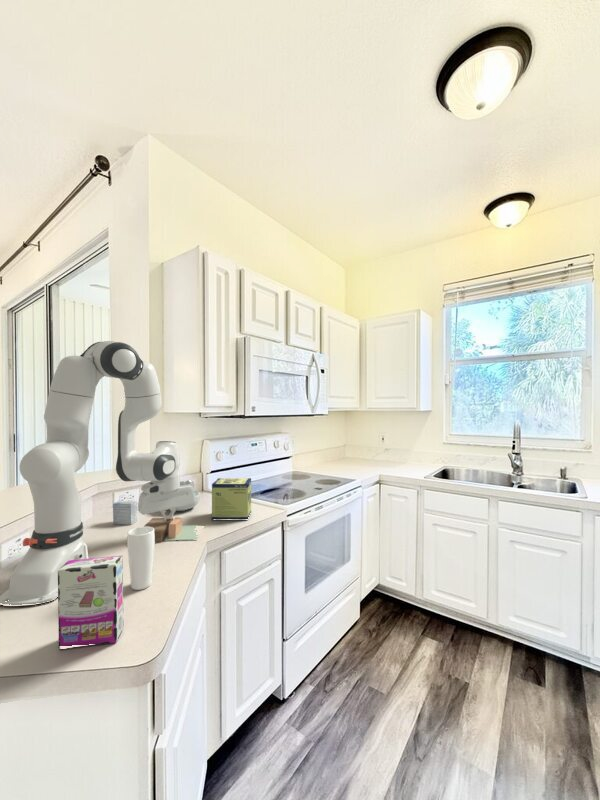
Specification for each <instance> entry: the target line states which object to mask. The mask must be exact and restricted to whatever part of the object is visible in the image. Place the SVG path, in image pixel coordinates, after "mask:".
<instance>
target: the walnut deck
mask: <svg viewBox="0 0 600 800" xmlns="http://www.w3.org/2000/svg"><path fill="white" fill-rule="evenodd" d="M173 520H174V519H173ZM173 520H171V521H166V522H164V521H163V517H153V518H151V519H150V520H149V521H148V522H147V523H146V524H144V525H143V527H145V526H148V527H153V528H154V532H155V543H162V542H163V541H164V540H165V538H166V537H167V536H168V535H169V524H170V523H171V522H172V521H173Z"/></svg>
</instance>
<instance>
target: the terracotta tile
mask: <svg viewBox="0 0 600 800" xmlns="http://www.w3.org/2000/svg"><path fill="white" fill-rule="evenodd" d="M182 526H183V517H174V518H173V521H172V522H171V523H170V524H169V533H168V535H169V537H168V538H176V537H177V536H178V535H179V533H180V532H181V531H182Z"/></svg>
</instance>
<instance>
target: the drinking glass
mask: <svg viewBox="0 0 600 800" xmlns="http://www.w3.org/2000/svg"><path fill="white" fill-rule="evenodd" d="M144 526H145V525H144ZM144 526H139V527H134V528H132V529H130V530H129V531H128V532H127V540H126V541H127V542H126V543H127V544H126V545H127V546H126V547H127V555H128V556H127V558H128V565H129V566H128V567H129V568H128V569H129V578H130V588H131V589H132V590H135V591H141V590H144V589H147V588H149V587H150V586H151V585H152V584H153V583H152V582H153V571H154V570H153V568H154V559H155V558H154V557H155V556H154V555H155V532H154V528H153V527H148V526H145V527H144Z"/></svg>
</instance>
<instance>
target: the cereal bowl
mask: <svg viewBox="0 0 600 800" xmlns="http://www.w3.org/2000/svg"><path fill="white" fill-rule="evenodd" d="M194 495H195V502H194V504H191V505H187V506H182V507H177V508H176V511H181V512H186V511H188V509H189V510H190V509H192V508H194V507H195V506H197V505H198V503H200V498H201V492H200V491H198V490H195V489H194ZM185 510H186V511H185ZM176 511H175V512H176Z"/></svg>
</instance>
